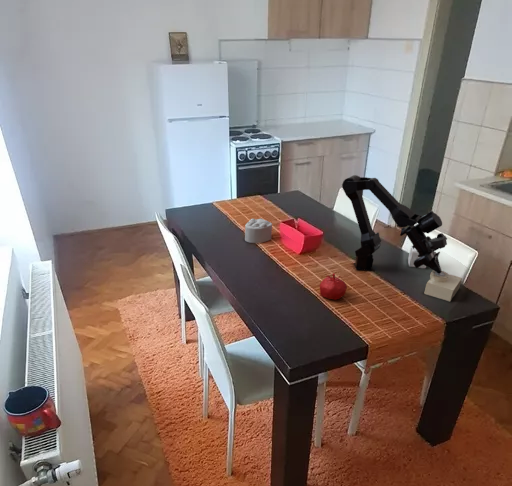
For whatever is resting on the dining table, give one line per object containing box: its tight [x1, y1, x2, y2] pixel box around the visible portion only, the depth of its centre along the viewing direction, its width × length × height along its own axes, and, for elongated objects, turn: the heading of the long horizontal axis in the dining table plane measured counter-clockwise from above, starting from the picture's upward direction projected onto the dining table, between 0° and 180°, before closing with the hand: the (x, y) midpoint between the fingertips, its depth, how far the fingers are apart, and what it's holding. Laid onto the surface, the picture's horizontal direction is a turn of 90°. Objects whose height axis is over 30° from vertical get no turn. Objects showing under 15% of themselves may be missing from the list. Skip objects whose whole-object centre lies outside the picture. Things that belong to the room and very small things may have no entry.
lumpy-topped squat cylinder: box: [244, 218, 273, 244], centre depth 221 cm, size 10×13×9 cm
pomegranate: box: [319, 272, 348, 301], centre depth 176 cm, size 10×10×9 cm
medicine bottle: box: [407, 245, 427, 269], centre depth 202 cm, size 7×7×12 cm
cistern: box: [424, 270, 463, 302], centre depth 183 cm, size 11×13×7 cm
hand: (440, 272), depth 182 cm, fingers closed, pressing on flush button
